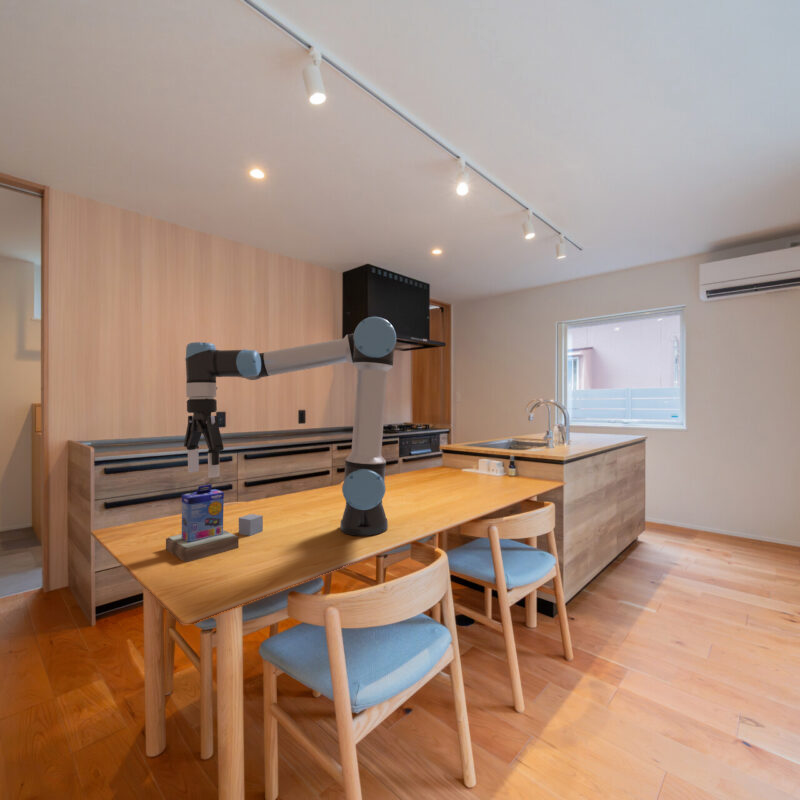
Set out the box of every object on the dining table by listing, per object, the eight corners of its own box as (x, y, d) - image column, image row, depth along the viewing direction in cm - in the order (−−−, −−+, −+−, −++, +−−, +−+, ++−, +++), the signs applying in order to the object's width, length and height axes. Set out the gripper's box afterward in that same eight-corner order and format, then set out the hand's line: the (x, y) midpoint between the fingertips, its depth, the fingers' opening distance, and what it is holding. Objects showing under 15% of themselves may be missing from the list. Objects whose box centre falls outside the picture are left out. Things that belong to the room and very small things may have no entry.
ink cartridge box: (188, 543, 108) (188, 488, 108) (180, 538, 112) (179, 485, 112) (224, 534, 116) (224, 483, 116) (216, 530, 119) (216, 480, 119)
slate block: (262, 531, 129) (262, 515, 129) (250, 536, 125) (250, 519, 125) (251, 529, 131) (251, 513, 131) (238, 533, 127) (238, 517, 127)
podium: (238, 547, 115) (238, 535, 115) (185, 562, 104) (185, 549, 104) (216, 536, 124) (216, 525, 124) (165, 549, 113) (165, 537, 113)
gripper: (235, 397, 109) (237, 477, 109) (197, 399, 125) (198, 468, 125) (207, 397, 103) (209, 481, 103) (170, 399, 120) (172, 471, 120)
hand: (203, 474), depth 114 cm, fingers open, 13 cm apart
